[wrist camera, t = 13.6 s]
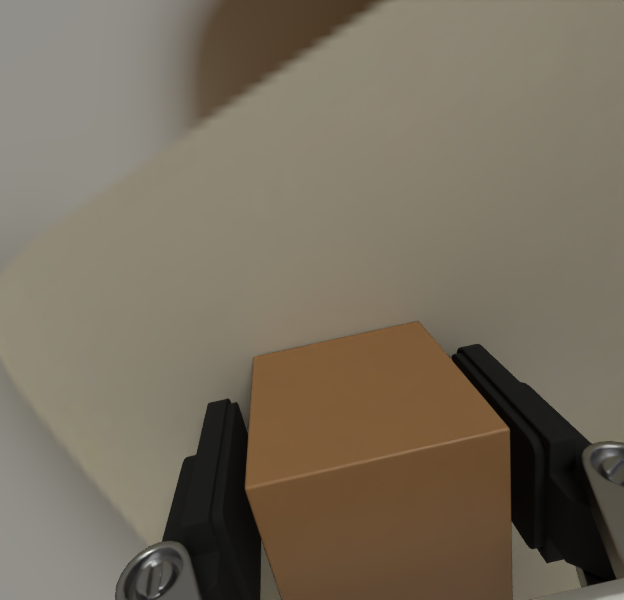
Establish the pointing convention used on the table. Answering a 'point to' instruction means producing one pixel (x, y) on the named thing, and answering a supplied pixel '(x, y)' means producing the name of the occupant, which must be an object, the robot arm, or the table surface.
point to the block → (378, 472)
